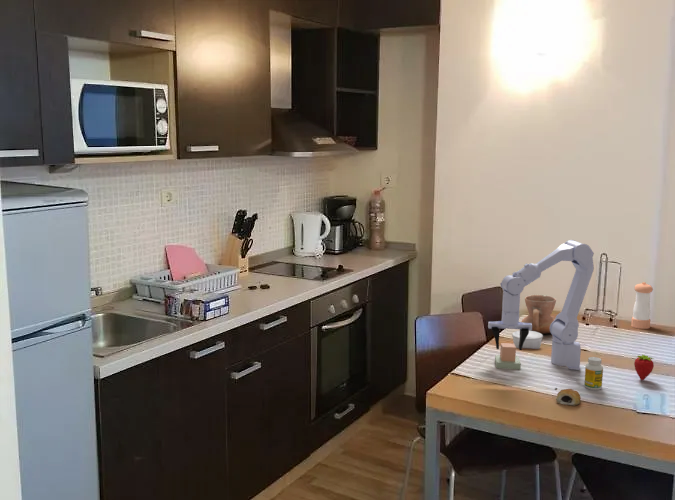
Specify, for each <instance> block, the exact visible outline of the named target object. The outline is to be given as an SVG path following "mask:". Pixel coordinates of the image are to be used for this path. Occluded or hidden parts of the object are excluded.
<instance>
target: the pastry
mask: <svg viewBox="0 0 675 500" xmlns="http://www.w3.org/2000/svg"><path fill="white" fill-rule="evenodd" d="M581 399H582V397H581V394H580V393H579V391H578V390H576V389H575V390H574V389H572V388H565V389H560V390H559V391H558V392H557V394H556V398H555V400H556V403H558V404H560V405H564V406H565V405H566V406H572V407H573V406H578V405H579V404H580V403H581Z"/></svg>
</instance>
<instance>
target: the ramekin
mask: <svg viewBox="0 0 675 500" xmlns="http://www.w3.org/2000/svg"><path fill="white" fill-rule="evenodd" d="M511 336H512V341H513V343H514V345H515V346H516V349H519V340H520V330H516V331H513V332H512V333H511ZM543 337H544V334H541V333H538V332H535V331H529V334H528V336H527V337H526V339H525V341H524V343H523V346H522V349H534V350H535V349H536V350H539V349H540V348H541V346H542V345H541V344H542V341H543V339H544V338H543Z"/></svg>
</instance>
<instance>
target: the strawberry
mask: <svg viewBox="0 0 675 500" xmlns="http://www.w3.org/2000/svg"><path fill="white" fill-rule="evenodd" d="M653 360H655V358H653V357H650V356H649V355H645V354H642V355H636V358H635V360H634V363H633V365H634V370H635V372H636V374H637V376H638V378H639V379H640V380H641V381H645V379H646V378H648V377H649V375H650V374H651V373H652V372H653V370H654V366H655V365H654V361H653Z"/></svg>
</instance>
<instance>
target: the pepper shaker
mask: <svg viewBox="0 0 675 500" xmlns="http://www.w3.org/2000/svg"><path fill="white" fill-rule="evenodd" d="M634 290H635V301H634V305H633V308H632V317H631V324H630V326H631V327H632V328H636V329H639V330H647V329H650V328H651V317H650V316H651V301H650V300H651V293H652V292H653V290H654V289H653V287H652V285H650V284H648V283H647V282H645V281H642V282H641V283H637V284H635V286H634Z"/></svg>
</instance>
